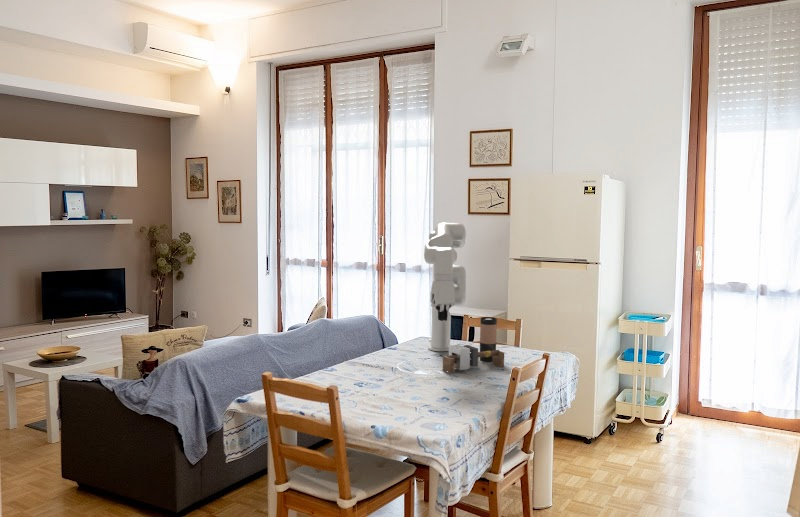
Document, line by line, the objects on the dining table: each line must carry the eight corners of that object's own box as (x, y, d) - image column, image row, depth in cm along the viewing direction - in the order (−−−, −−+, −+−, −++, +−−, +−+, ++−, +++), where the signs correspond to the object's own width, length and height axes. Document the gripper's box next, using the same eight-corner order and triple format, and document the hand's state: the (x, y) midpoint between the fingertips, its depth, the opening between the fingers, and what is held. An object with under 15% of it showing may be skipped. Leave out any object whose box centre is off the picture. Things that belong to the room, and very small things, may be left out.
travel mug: (495, 358, 319) (496, 317, 317) (496, 362, 311) (497, 320, 309) (479, 358, 320) (480, 316, 318) (479, 362, 312) (480, 319, 310)
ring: (473, 367, 294) (473, 349, 293) (462, 363, 301) (463, 345, 300) (477, 366, 295) (478, 348, 295) (467, 362, 302) (467, 344, 302)
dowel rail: (450, 373, 290) (450, 357, 289) (442, 370, 295) (442, 354, 294) (503, 366, 304) (504, 350, 303) (495, 363, 309) (496, 348, 308)
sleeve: (459, 370, 290) (460, 349, 289) (448, 365, 298) (448, 345, 297) (469, 368, 293) (469, 348, 292) (457, 364, 300) (458, 344, 300)
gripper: (453, 276, 295) (452, 317, 296) (423, 277, 287) (422, 320, 289) (463, 277, 288) (462, 320, 290) (432, 279, 281) (431, 323, 282)
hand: (442, 320), depth 289 cm, fingers closed
